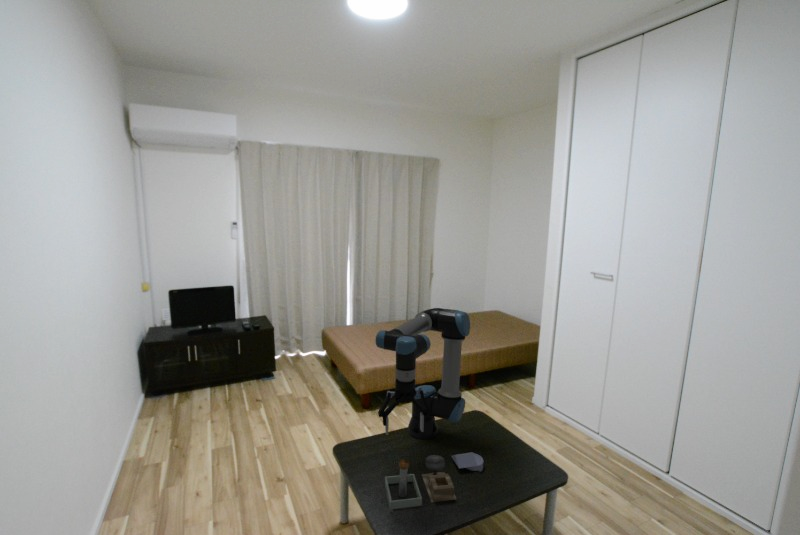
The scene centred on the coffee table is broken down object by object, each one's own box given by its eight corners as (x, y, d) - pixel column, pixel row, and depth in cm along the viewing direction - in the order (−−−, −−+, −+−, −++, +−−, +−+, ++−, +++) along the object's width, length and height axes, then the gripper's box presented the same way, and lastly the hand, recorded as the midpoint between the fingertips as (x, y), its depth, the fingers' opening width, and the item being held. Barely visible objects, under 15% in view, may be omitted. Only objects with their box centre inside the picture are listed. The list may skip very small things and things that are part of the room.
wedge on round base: (458, 475, 157) (486, 471, 160) (459, 461, 157) (487, 456, 160) (450, 462, 166) (477, 458, 169) (451, 448, 165) (477, 444, 168)
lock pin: (396, 491, 146) (397, 459, 145) (406, 490, 147) (408, 459, 145) (398, 498, 142) (399, 466, 141) (408, 497, 143) (410, 465, 142)
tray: (384, 485, 150) (384, 476, 150) (413, 482, 153) (413, 473, 152) (390, 511, 137) (390, 502, 136) (421, 507, 139) (421, 498, 138)
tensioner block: (420, 475, 157) (421, 454, 156) (443, 472, 159) (444, 452, 158) (431, 504, 141) (432, 482, 140) (456, 501, 142) (457, 479, 141)
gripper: (373, 384, 134) (373, 439, 136) (440, 380, 138) (438, 434, 140) (371, 376, 141) (370, 428, 143) (434, 372, 145) (433, 423, 148)
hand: (404, 431), depth 142 cm, fingers open, 13 cm apart
